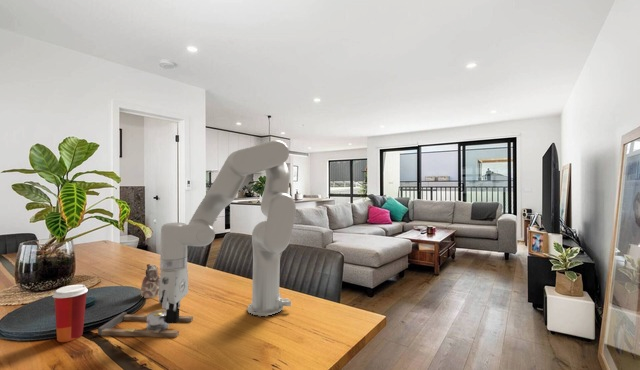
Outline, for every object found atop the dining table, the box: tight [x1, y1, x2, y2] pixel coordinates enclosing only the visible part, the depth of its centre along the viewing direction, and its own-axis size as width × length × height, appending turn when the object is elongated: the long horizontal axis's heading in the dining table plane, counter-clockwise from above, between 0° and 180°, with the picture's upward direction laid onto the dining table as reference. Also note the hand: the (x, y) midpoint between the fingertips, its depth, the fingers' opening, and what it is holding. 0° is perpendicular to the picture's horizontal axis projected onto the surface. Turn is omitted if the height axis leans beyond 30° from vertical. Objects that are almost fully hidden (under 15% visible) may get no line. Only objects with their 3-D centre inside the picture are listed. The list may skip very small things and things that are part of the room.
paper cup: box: [51, 284, 89, 343], centre depth 85 cm, size 8×8×14 cm
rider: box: [146, 309, 170, 330], centre depth 91 cm, size 6×6×4 cm
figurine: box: [140, 263, 160, 299], centre depth 117 cm, size 7×7×12 cm
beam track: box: [97, 311, 194, 338], centre depth 91 cm, size 23×11×2 cm, turn 89°
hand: (172, 322), depth 91 cm, fingers closed
